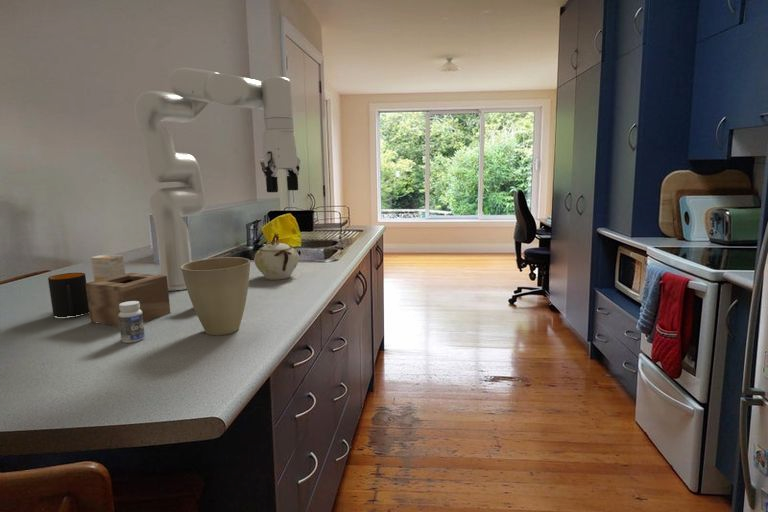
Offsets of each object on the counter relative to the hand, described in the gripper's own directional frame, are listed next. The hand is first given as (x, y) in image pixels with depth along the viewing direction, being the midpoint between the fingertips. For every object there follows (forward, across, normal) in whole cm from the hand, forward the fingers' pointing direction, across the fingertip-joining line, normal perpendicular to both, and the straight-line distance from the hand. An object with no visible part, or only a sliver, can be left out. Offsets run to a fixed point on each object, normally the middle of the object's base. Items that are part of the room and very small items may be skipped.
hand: (283, 191), depth 135 cm
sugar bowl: (+31, -25, -21) cm, 45 cm away
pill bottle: (+31, +40, -15) cm, 52 cm away
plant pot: (+31, +28, 0) cm, 42 cm away
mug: (+31, +31, -47) cm, 64 cm away
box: (+31, +27, -30) cm, 51 cm away
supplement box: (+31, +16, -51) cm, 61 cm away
